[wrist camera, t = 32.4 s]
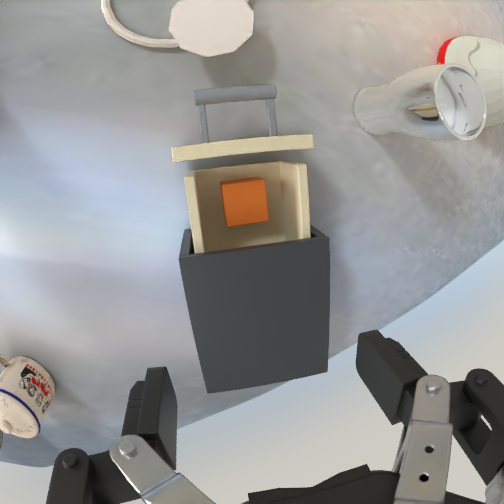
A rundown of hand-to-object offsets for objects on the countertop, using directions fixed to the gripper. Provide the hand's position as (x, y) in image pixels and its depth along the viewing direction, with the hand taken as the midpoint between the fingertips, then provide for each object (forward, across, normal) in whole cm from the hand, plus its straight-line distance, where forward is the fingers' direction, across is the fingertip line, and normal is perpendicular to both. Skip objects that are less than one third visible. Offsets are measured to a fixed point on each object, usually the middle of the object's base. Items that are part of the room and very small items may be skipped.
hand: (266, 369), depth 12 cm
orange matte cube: (+22, -2, -3) cm, 22 cm away
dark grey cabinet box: (+24, -2, +7) cm, 25 cm away
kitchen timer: (+24, -37, -18) cm, 48 cm away
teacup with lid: (+24, +33, +17) cm, 44 cm away
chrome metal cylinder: (+24, -19, -12) cm, 33 cm away
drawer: (+23, -2, -5) cm, 24 cm away
